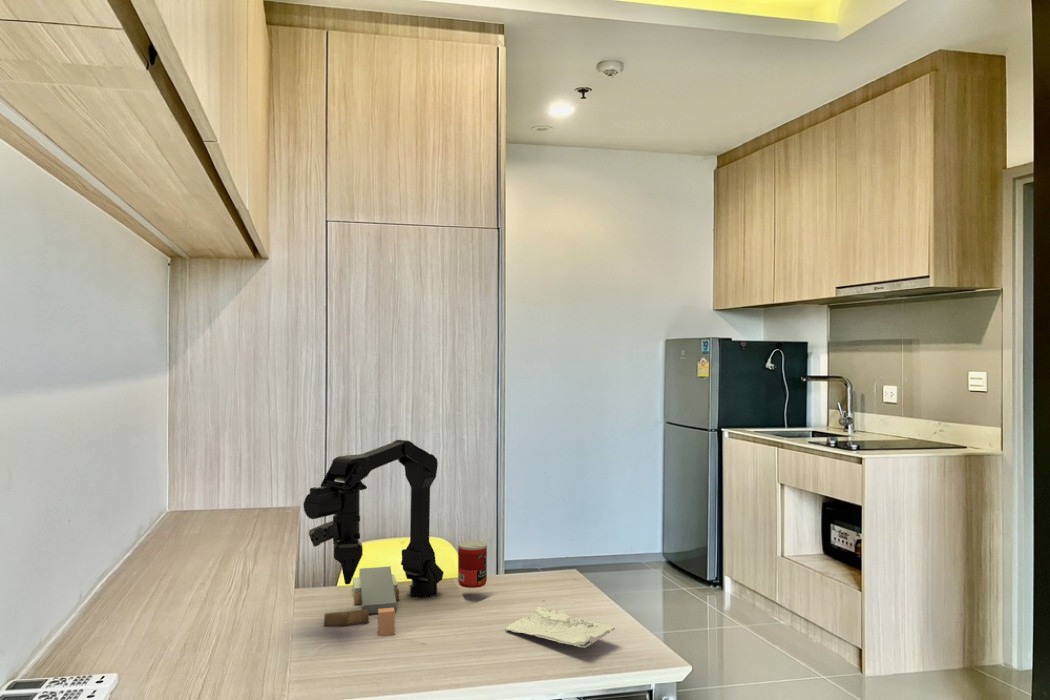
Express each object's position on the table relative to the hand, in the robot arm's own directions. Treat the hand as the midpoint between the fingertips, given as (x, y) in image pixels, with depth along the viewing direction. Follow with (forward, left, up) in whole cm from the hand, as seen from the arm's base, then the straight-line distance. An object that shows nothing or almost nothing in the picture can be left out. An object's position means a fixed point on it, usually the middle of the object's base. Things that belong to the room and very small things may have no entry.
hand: (346, 577), depth 165 cm
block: (-8, -21, -11) cm, 25 cm away
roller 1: (0, 0, -11) cm, 11 cm away
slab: (-8, -13, -9) cm, 18 cm away
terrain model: (-47, +16, -12) cm, 51 cm away
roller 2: (-8, -15, -9) cm, 19 cm away
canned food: (-34, -22, -11) cm, 42 cm away
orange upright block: (-8, +7, -11) cm, 16 cm away
